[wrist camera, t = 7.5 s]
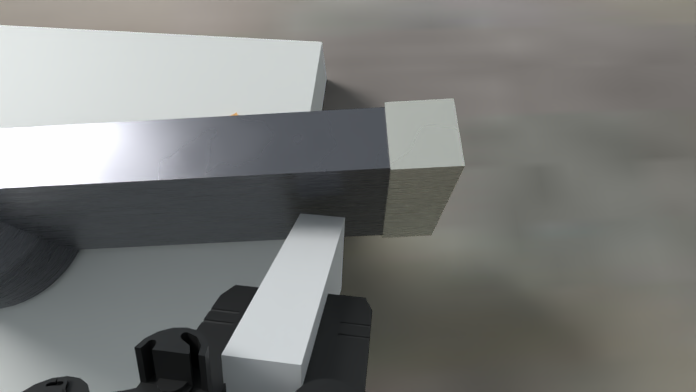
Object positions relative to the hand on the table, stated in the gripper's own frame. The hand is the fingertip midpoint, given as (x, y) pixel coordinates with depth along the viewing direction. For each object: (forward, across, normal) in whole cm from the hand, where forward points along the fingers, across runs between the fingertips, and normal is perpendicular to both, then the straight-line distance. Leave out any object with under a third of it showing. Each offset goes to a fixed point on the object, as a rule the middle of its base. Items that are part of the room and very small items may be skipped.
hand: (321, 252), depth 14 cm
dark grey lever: (+3, -7, -1) cm, 7 cm away
